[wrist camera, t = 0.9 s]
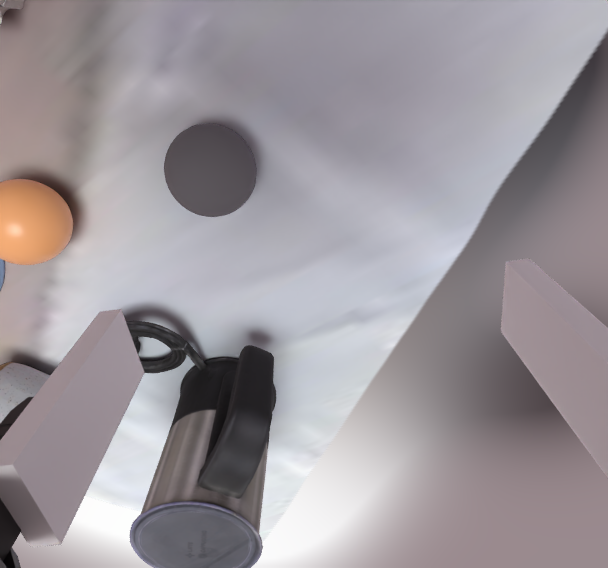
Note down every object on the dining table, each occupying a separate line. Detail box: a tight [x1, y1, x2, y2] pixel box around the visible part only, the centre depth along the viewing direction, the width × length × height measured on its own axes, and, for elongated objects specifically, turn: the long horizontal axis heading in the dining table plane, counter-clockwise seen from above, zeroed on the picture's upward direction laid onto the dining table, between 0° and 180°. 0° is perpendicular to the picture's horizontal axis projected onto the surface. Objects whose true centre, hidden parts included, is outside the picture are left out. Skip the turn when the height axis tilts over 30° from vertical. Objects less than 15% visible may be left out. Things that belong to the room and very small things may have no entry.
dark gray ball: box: [164, 124, 257, 217], centre depth 30 cm, size 6×6×6 cm
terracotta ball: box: [0, 179, 73, 265], centre depth 32 cm, size 6×6×6 cm
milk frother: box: [126, 321, 276, 568], centre depth 36 cm, size 14×16×15 cm
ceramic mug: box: [0, 362, 51, 423], centre depth 41 cm, size 11×8×8 cm
